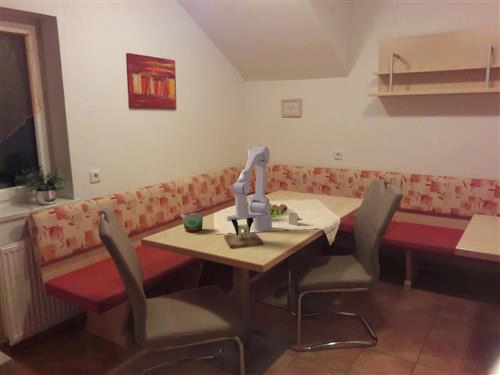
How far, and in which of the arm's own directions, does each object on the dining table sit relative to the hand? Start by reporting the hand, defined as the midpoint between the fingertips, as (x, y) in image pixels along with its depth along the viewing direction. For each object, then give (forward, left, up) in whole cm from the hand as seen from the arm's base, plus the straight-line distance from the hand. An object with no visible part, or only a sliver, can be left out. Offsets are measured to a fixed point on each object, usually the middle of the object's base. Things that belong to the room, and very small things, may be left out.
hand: (242, 233), depth 203 cm
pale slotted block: (0, 0, -2) cm, 2 cm away
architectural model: (-33, -18, -5) cm, 38 cm away
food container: (+21, -25, -4) cm, 33 cm away
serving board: (0, 0, -4) cm, 4 cm away
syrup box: (-15, -35, -4) cm, 38 cm away
